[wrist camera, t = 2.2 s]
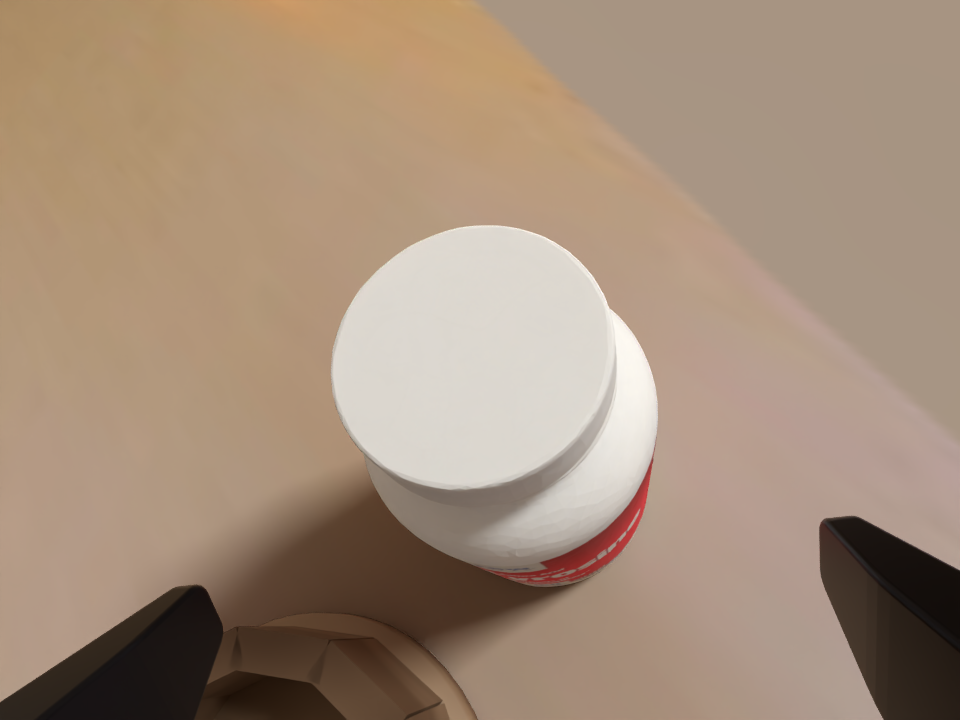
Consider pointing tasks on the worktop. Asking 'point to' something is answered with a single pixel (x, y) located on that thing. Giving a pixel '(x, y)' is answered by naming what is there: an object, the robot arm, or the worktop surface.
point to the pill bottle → (499, 404)
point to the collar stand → (328, 674)
